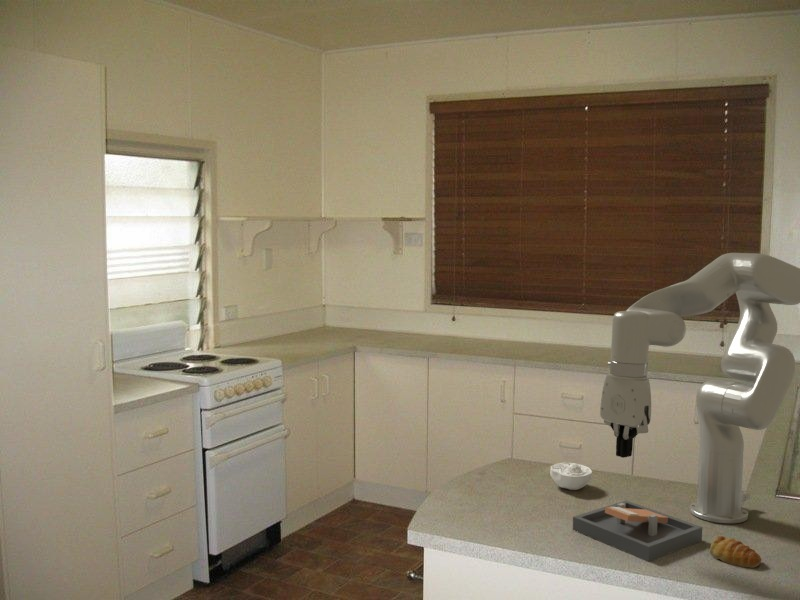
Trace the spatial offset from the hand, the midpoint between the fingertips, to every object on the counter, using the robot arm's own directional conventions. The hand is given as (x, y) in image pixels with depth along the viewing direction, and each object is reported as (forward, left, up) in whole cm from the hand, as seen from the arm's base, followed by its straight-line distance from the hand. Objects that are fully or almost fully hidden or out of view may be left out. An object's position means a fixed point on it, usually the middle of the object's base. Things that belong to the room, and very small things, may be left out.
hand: (623, 455), depth 165 cm
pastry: (-11, +19, -19) cm, 29 cm away
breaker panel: (-5, 0, -18) cm, 19 cm away
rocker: (-5, 0, -14) cm, 15 cm away
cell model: (-17, -30, -19) cm, 39 cm away
